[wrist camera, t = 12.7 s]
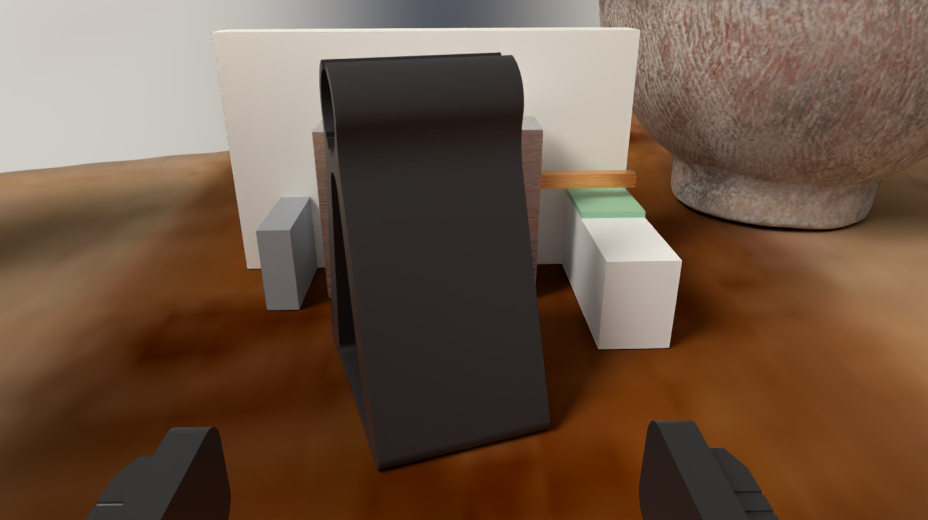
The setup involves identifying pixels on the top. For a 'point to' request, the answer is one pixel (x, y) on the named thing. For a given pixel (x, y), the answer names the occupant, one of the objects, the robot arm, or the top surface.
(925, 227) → the top surface
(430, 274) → the phone stand
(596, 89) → the panel and block assembly
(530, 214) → the block and dowel assembly
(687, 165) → the ceramic pot
